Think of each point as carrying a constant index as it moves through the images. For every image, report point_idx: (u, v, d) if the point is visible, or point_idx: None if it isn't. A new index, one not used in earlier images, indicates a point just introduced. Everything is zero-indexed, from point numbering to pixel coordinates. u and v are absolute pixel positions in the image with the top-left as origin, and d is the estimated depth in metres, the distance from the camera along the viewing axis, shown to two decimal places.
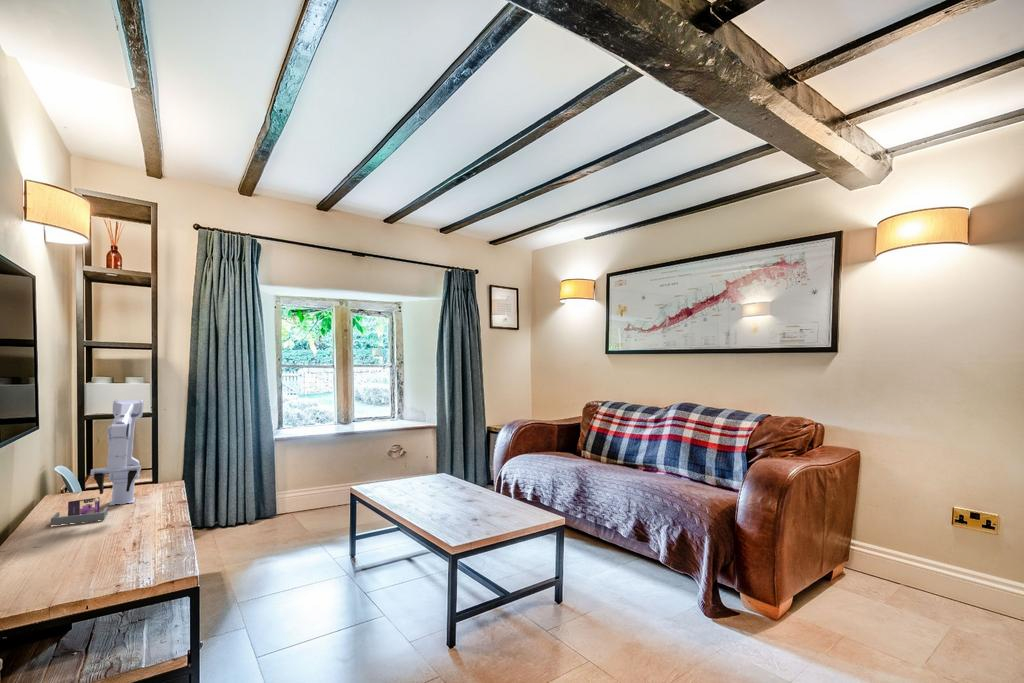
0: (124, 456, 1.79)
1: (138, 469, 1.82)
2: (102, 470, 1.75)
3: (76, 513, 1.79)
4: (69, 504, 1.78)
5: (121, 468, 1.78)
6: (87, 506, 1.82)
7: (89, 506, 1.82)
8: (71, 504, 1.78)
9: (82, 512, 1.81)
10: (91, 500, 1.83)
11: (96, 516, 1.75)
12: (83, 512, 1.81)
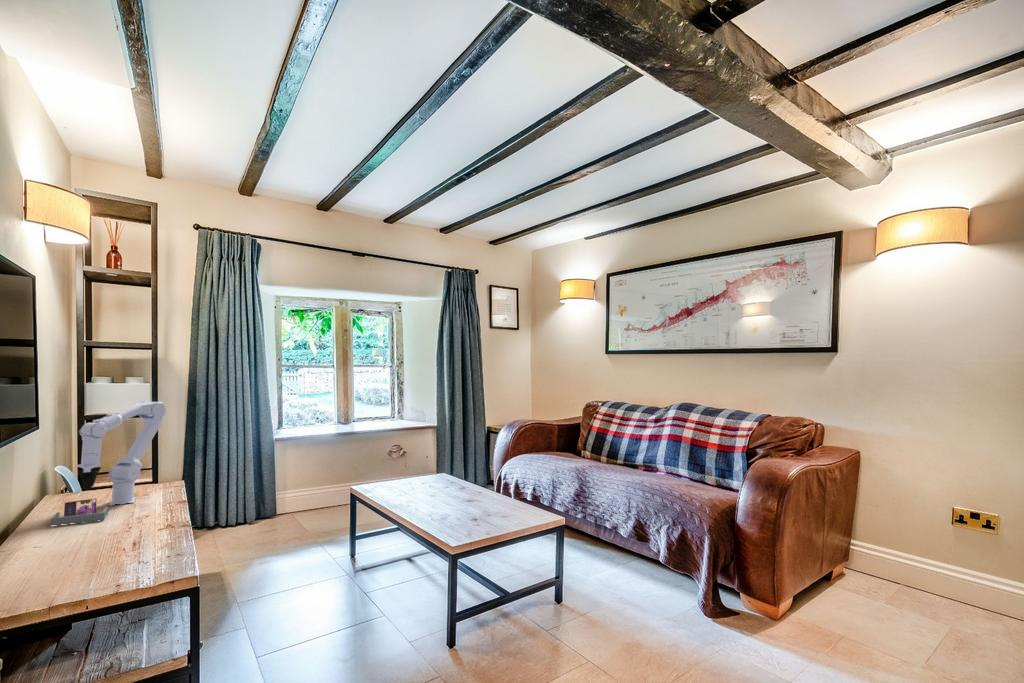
0: (84, 454, 1.85)
1: (83, 470, 1.82)
2: None
3: (72, 514, 1.77)
4: (65, 505, 1.77)
5: (81, 465, 1.85)
6: (84, 507, 1.80)
7: (86, 507, 1.80)
8: (67, 505, 1.77)
9: (79, 513, 1.79)
10: (88, 501, 1.81)
11: (96, 516, 1.75)
12: (79, 513, 1.79)
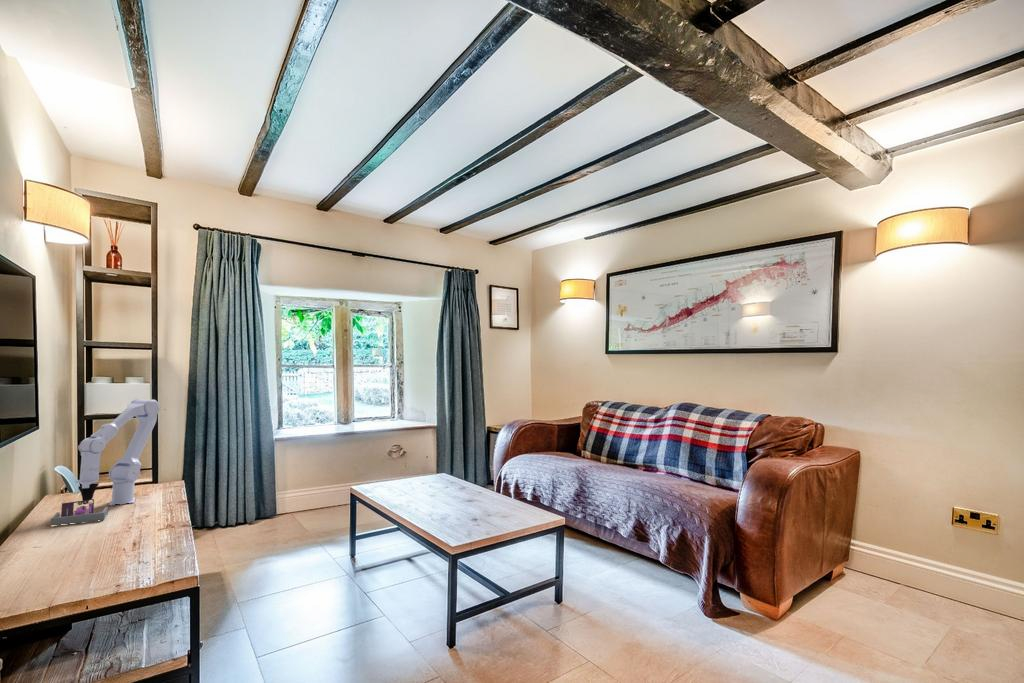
0: (83, 470, 1.85)
1: (82, 486, 1.81)
2: None
3: (69, 515, 1.76)
4: (62, 506, 1.76)
5: (79, 481, 1.85)
6: (81, 508, 1.79)
7: (83, 508, 1.79)
8: (64, 506, 1.76)
9: (76, 514, 1.78)
10: (85, 502, 1.80)
11: (96, 516, 1.75)
12: (77, 514, 1.78)
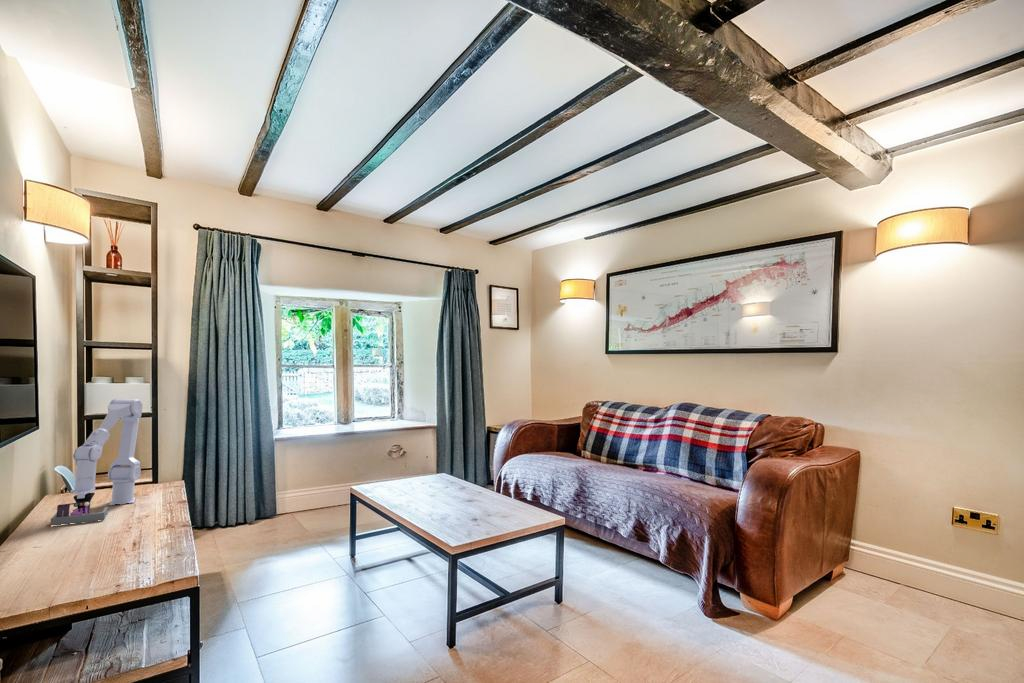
0: (78, 479, 1.78)
1: (77, 496, 1.74)
2: None
3: None
4: (58, 507, 1.73)
5: (75, 491, 1.77)
6: (77, 510, 1.76)
7: (79, 510, 1.76)
8: (60, 508, 1.73)
9: None
10: (81, 504, 1.77)
11: (96, 516, 1.75)
12: None
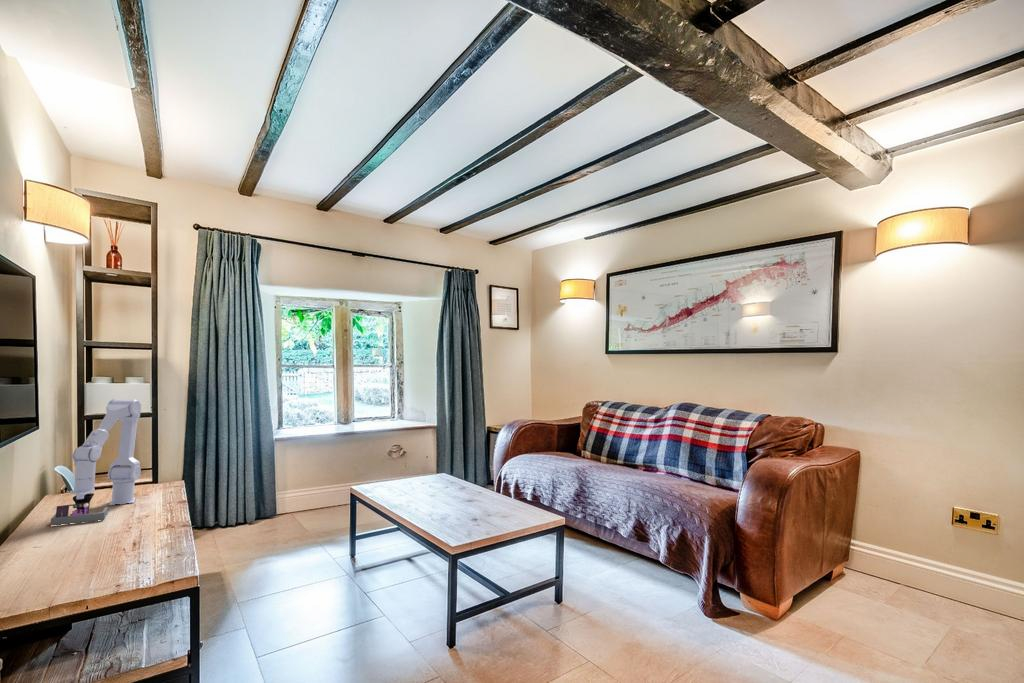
0: (78, 480, 1.77)
1: (76, 497, 1.73)
2: None
3: None
4: (57, 508, 1.72)
5: (74, 491, 1.76)
6: (76, 511, 1.74)
7: (78, 511, 1.75)
8: (59, 509, 1.72)
9: None
10: (80, 505, 1.76)
11: (96, 516, 1.75)
12: None
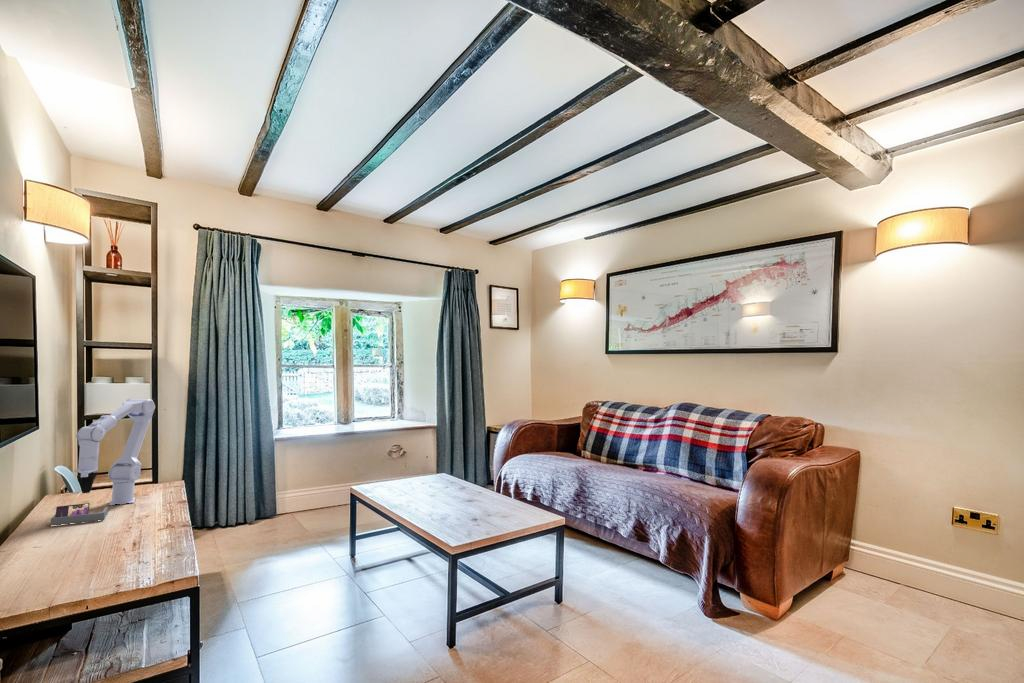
0: (82, 459, 1.81)
1: (81, 475, 1.78)
2: None
3: None
4: (57, 509, 1.71)
5: (78, 470, 1.81)
6: (76, 512, 1.74)
7: (78, 512, 1.74)
8: (59, 509, 1.71)
9: None
10: (80, 506, 1.75)
11: (96, 516, 1.75)
12: None
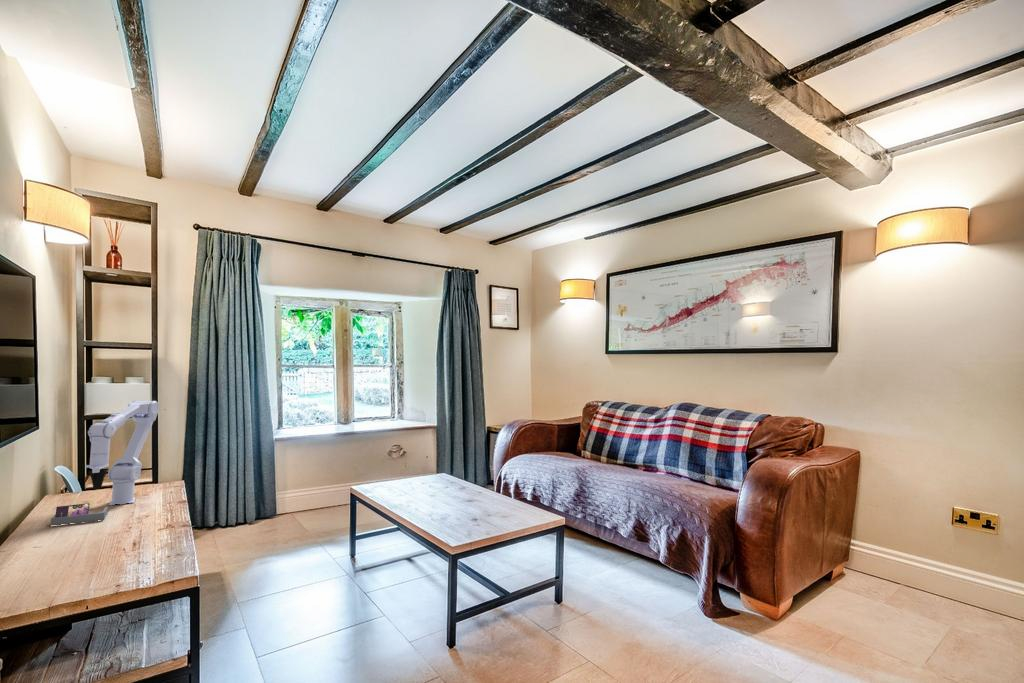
0: (93, 455, 1.85)
1: None
2: None
3: None
4: (57, 509, 1.71)
5: (90, 466, 1.84)
6: (76, 512, 1.74)
7: (78, 512, 1.74)
8: (59, 510, 1.71)
9: None
10: (80, 506, 1.75)
11: (96, 516, 1.75)
12: None
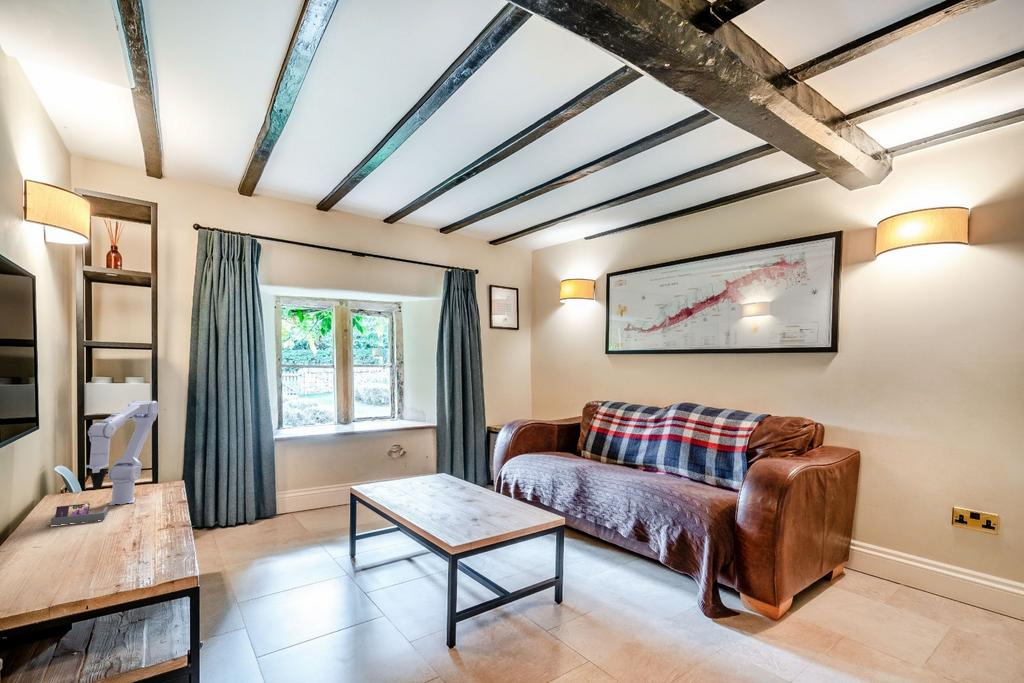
0: (93, 455, 1.85)
1: None
2: None
3: None
4: (57, 509, 1.71)
5: (90, 466, 1.84)
6: (76, 512, 1.73)
7: (78, 512, 1.74)
8: (59, 509, 1.71)
9: None
10: (80, 506, 1.75)
11: (96, 516, 1.75)
12: None
